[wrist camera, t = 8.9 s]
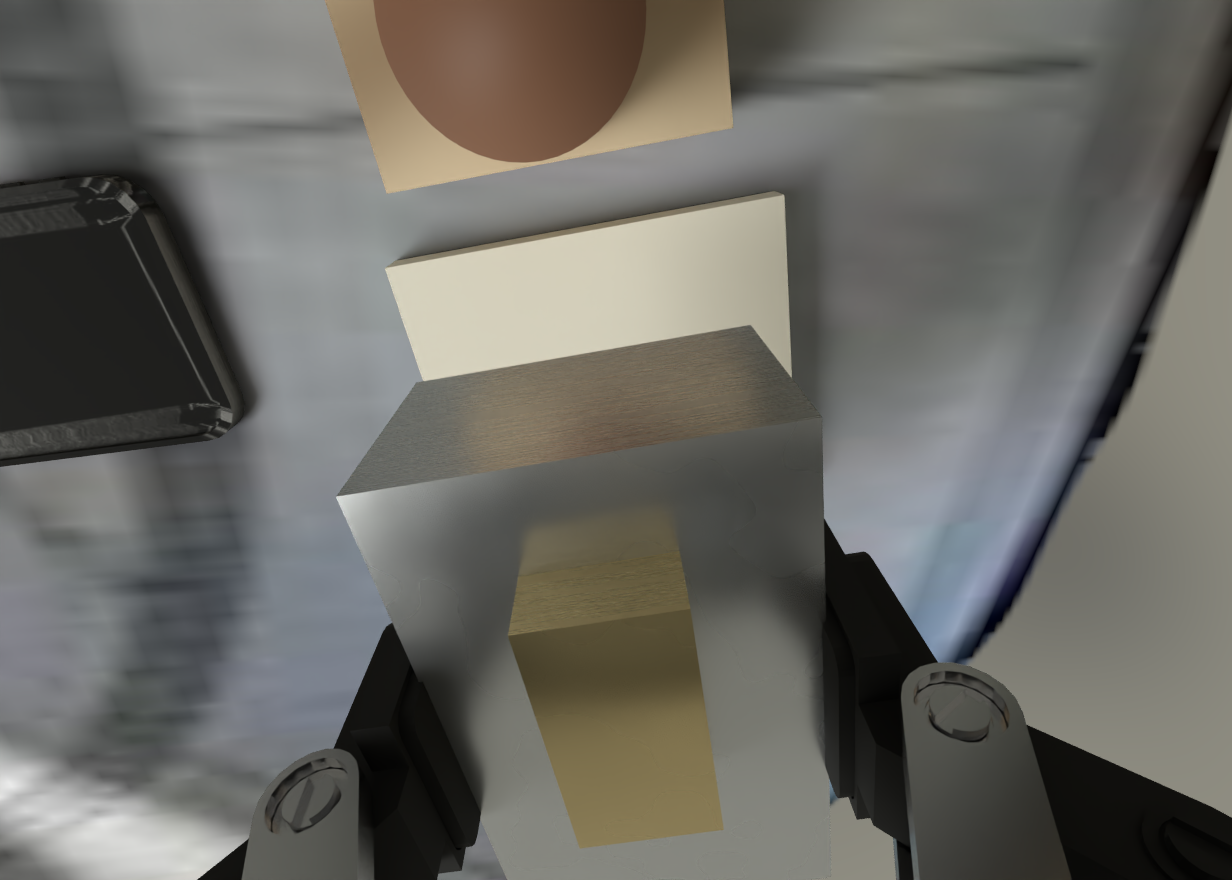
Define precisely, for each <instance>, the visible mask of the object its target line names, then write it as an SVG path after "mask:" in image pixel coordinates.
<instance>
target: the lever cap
mask: <svg viewBox="0 0 1232 880" xmlns="http://www.w3.org/2000/svg"><path fill="white" fill-rule="evenodd" d="M336 498H337V500H338V502H339V504H340V507H341V509H342V511H343V513H344V516H345V518H346V520H347V522H348V525H349V527H350V529H351V531H352V533H353V536H354V538H355V540H356V542H357V545H358V547H359V549H360V551H361V554H362V556H363V558H364V560H365V563H366V565H367V567H368V569H369V571H370V574H371V576H372V578H373V580H374V583H375V585H376V587H377V589H378V592H379V594H380V596H381V598H382V601H383V603H384V605H385V607H386V609H387V612H388V614H389V616H390V618H391V621H392V623H393V625H394V627H395V630H396V632H397V634H398V636H399V639H400V641H401V643H402V645H403V647H404V650H405V652H406V654H407V656H408V659H409V661H410V663H411V665H412V668H413V670H414V672H415V674H416V677H417V679H418V681H419V682H423V683H424V685H425V687H426V690H427V692H428V694H429V697H430V699H431V701H432V703H433V706H434V708H435V710H436V712H437V715H438V717H439V719H440V721H441V724H442V726H443V728H444V730H445V733H446V735H447V737H448V739H449V742H450V744H451V746H452V748H453V751H454V753H455V755H456V757H457V760H458V762H459V764H460V766H461V769H462V771H463V773H464V775H465V778H466V780H467V782H468V785H469V787H470V789H471V791H472V794H473V796H474V798H475V800H476V803H477V805H478V807H479V809H480V812H481V816H480V820H481V822H482V824H483V826H484V828H485V831H486V833H487V835H488V837H489V840H490V842H491V844H492V846H493V849H494V851H495V853H496V855H497V858H498V860H499V862H500V864H501V866H502V869H503V871H504V873H505V875H506V878H507V880H812V879H820V878H827V877H831V850H830V799H829V776H828V773H827V770H826V767H825V735H824V694H823V653H822V623H826V600H825V550H824V501H823V451H822V417H821V416H820V414H819V413H818V412H817V410H816V409H815V408H814V406H813V405H812V404H811V403H810V401H809V400H808V399H807V397H806V396H805V395H804V393H803V392H802V391H801V390H800V388H799V387H798V386H797V384H796V383H795V382H794V380H793V379H792V378H791V377H790V375H789V374H788V373H787V371H786V370H785V369H784V367H783V366H782V365H781V364H780V362H779V361H778V360H777V358H776V357H775V356H774V354H773V353H772V352H771V351H770V349H769V348H768V347H767V345H766V344H765V343H764V342H763V340H762V339H761V338H760V336H759V335H758V334H757V332H756V331H755V330H754V329H753V327H752V326H751V325H747V326H741V327H735V328H729V329H723V330H718V331H712V332H706V333H700V334H695V335H689V336H683V337H677V338H671V339H666V340H660V341H654V342H648V343H642V344H637V345H631V346H625V347H619V348H613V349H608V350H602V351H596V352H590V353H585V354H579V355H573V356H567V357H561V358H556V359H550V360H544V361H538V362H532V363H527V364H521V365H515V366H509V367H503V368H498V369H492V370H486V371H480V372H475V373H469V374H463V375H457V376H451V377H446V378H440V379H434V380H428V381H422V382H417V383H416V384H415V385H414V387H413V388H412V390H411V391H410V392H409V394H408V395H407V397H406V398H405V400H404V401H403V402H402V404H401V405H400V407H399V408H398V410H397V411H396V412H395V414H394V415H393V417H392V418H391V420H390V421H389V422H388V424H387V425H386V427H385V428H384V429H383V431H382V432H381V434H380V435H379V437H378V438H377V439H376V441H375V442H374V444H373V445H372V447H371V448H370V449H369V451H368V452H367V454H366V455H365V456H364V458H363V459H362V461H361V462H360V464H359V465H358V466H357V468H356V469H355V471H354V472H353V474H352V475H351V476H350V478H349V479H348V481H347V482H346V483H345V485H344V486H343V488H342V489H341V491H340V492H339V493H338V495H337V496H336Z"/></svg>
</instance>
